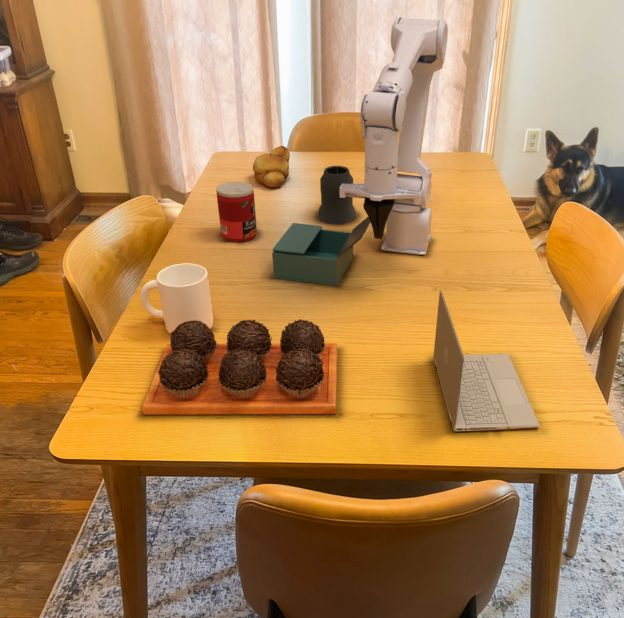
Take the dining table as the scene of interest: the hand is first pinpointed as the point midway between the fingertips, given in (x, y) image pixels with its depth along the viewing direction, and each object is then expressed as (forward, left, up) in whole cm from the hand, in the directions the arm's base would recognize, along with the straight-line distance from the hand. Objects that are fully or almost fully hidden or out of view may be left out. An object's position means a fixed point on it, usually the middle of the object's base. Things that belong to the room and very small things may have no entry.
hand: (378, 236), depth 124 cm
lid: (+5, -4, -2) cm, 7 cm away
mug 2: (+17, -32, -11) cm, 38 cm away
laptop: (-22, +29, -11) cm, 38 cm away
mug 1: (+31, +23, -11) cm, 40 cm away
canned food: (+35, -15, -11) cm, 39 cm away
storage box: (+14, -4, -10) cm, 18 cm away
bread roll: (+39, -48, -6) cm, 62 cm away
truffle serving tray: (+13, +35, -11) cm, 39 cm away
